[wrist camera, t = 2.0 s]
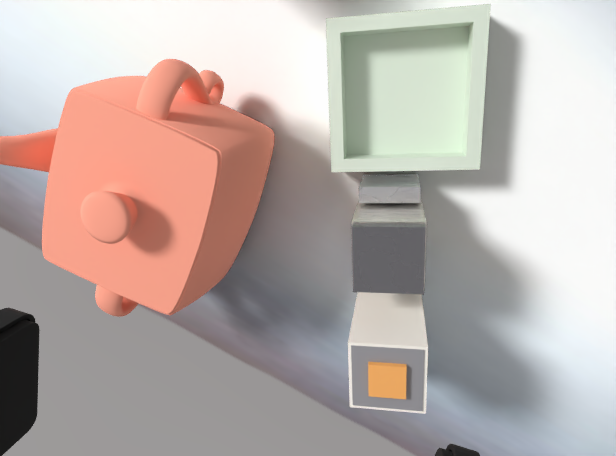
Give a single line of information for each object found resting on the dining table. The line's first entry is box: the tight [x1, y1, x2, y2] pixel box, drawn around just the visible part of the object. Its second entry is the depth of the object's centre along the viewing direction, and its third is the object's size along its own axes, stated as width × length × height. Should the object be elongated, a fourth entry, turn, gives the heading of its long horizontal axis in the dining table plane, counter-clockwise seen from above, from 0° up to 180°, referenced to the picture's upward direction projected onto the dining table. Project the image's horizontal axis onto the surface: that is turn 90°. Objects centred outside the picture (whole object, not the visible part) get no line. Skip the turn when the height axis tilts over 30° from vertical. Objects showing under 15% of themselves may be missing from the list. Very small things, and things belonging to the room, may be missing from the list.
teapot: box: [0, 59, 275, 316], centre depth 33 cm, size 20×19×14 cm
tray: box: [326, 4, 491, 172], centre depth 33 cm, size 11×11×3 cm
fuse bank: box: [351, 174, 427, 295], centre depth 34 cm, size 5×16×10 cm, turn 3°
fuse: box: [348, 292, 428, 414], centre depth 34 cm, size 5×5×12 cm
